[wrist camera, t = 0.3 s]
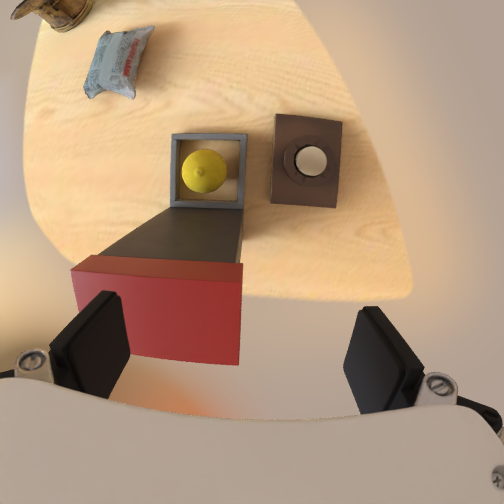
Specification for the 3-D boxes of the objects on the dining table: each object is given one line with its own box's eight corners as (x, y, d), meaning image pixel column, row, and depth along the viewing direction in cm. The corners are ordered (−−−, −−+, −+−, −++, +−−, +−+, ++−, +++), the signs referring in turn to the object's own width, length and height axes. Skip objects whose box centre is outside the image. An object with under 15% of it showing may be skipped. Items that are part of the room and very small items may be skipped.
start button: (296, 145, 33) (298, 144, 31) (324, 148, 33) (328, 148, 31) (294, 173, 34) (296, 174, 32) (322, 176, 34) (325, 177, 32)
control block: (274, 116, 35) (276, 111, 31) (337, 123, 35) (346, 120, 31) (269, 201, 39) (271, 205, 35) (331, 205, 39) (339, 210, 35)
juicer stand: (171, 135, 36) (63, 108, 12) (250, 135, 36) (251, 91, 12) (171, 244, 41) (88, 346, 17) (245, 248, 41) (238, 365, 17)
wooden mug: (61, 57, 30) (-7, 32, 13) (51, 15, 26) (-4, -13, 9) (102, 26, 29) (42, -16, 12) (88, -13, 25) (40, -53, 8)
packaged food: (159, 32, 30) (148, 19, 25) (139, 101, 34) (125, 95, 29) (111, 35, 30) (97, 25, 25) (91, 100, 33) (74, 96, 29)
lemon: (223, 145, 36) (216, 141, 29) (233, 183, 38) (229, 189, 30) (184, 157, 37) (168, 156, 29) (195, 194, 38) (182, 202, 31)
